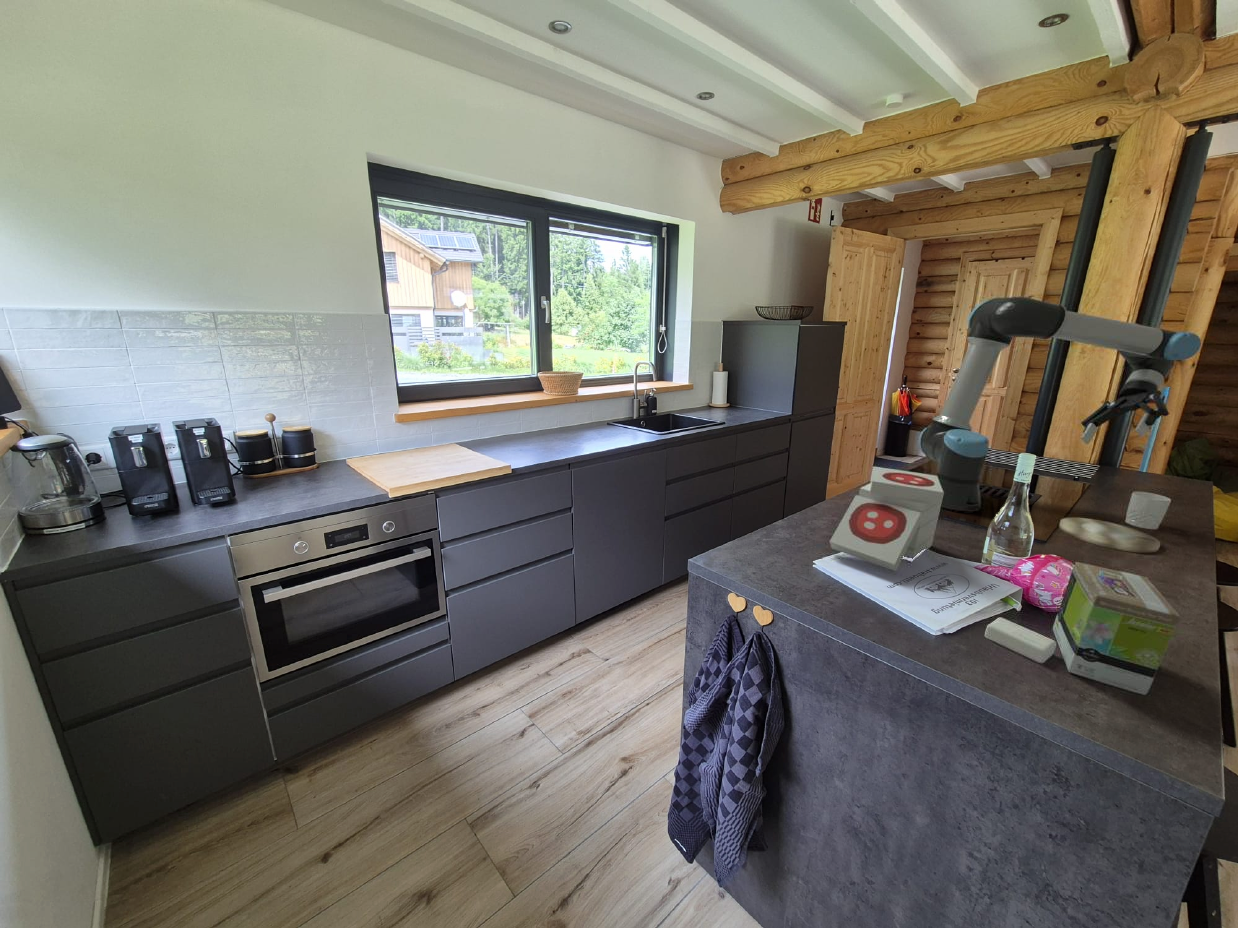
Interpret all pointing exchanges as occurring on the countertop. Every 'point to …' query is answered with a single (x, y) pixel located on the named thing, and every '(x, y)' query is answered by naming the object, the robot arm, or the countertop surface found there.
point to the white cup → (1146, 510)
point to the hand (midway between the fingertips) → (1110, 437)
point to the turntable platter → (1109, 535)
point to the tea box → (1114, 627)
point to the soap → (1020, 640)
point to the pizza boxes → (890, 517)
